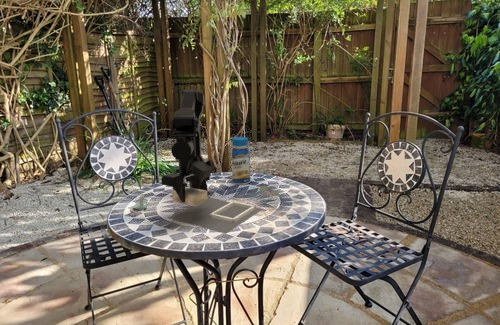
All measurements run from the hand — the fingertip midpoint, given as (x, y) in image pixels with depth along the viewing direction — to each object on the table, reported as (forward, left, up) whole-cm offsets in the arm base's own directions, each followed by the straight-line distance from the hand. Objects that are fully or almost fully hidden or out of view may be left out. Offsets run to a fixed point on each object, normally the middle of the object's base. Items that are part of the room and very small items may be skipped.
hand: (190, 199), depth 113 cm
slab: (0, 0, -1) cm, 1 cm away
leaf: (+13, +31, -7) cm, 34 cm away
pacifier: (-22, -3, -7) cm, 23 cm away
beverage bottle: (-7, +41, -7) cm, 42 cm away
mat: (+6, +6, -7) cm, 11 cm away
